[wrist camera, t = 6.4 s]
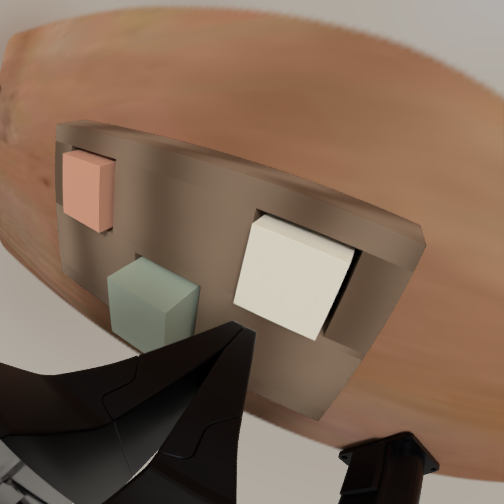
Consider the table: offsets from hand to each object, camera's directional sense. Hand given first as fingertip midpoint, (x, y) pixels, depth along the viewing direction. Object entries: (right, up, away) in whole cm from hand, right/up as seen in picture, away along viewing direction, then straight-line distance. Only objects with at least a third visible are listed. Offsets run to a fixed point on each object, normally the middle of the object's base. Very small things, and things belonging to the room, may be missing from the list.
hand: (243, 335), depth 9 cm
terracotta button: (-9, +7, +9) cm, 14 cm away
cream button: (+3, +2, +6) cm, 7 cm away
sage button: (-5, 0, +8) cm, 10 cm away
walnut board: (-3, +3, +9) cm, 10 cm away
